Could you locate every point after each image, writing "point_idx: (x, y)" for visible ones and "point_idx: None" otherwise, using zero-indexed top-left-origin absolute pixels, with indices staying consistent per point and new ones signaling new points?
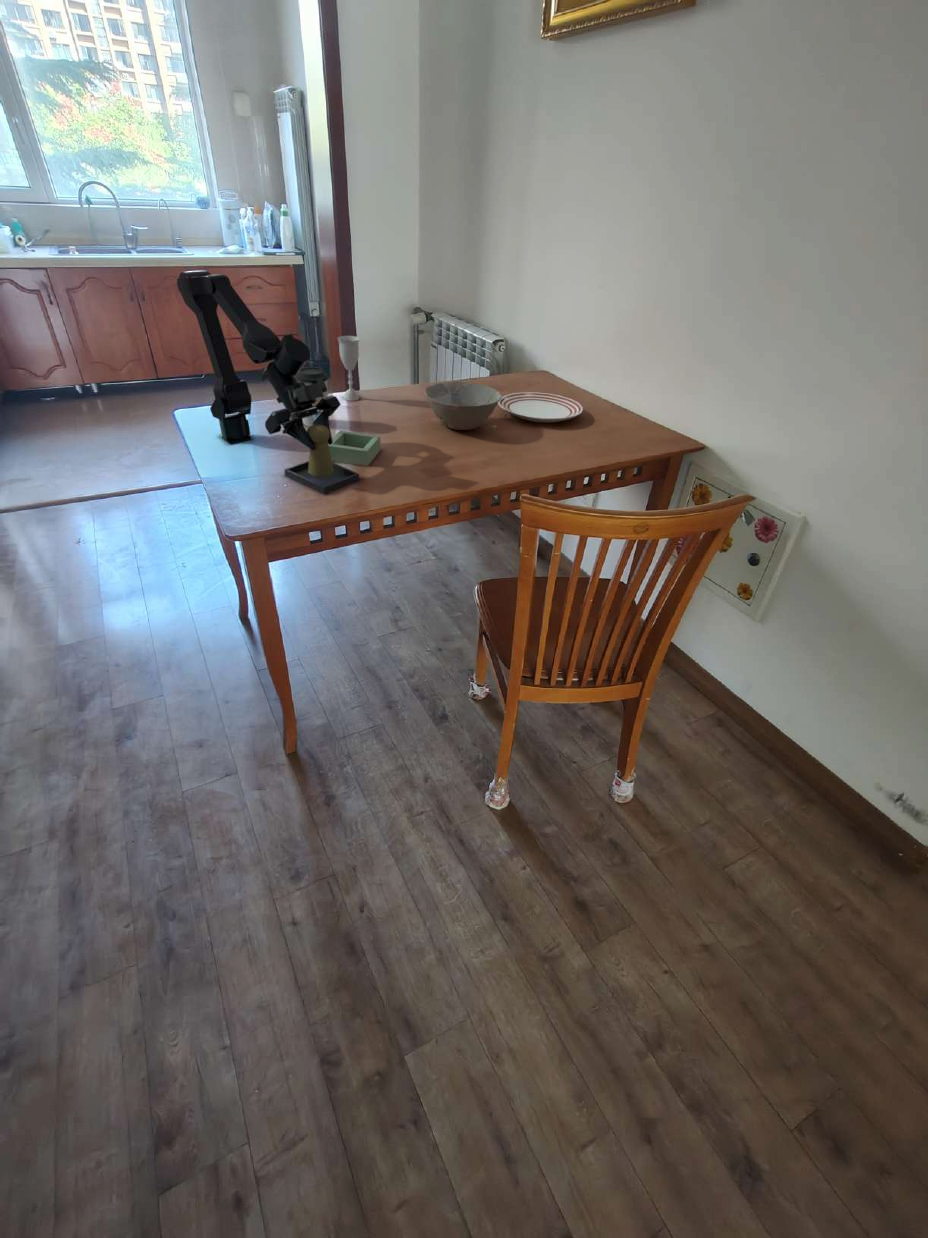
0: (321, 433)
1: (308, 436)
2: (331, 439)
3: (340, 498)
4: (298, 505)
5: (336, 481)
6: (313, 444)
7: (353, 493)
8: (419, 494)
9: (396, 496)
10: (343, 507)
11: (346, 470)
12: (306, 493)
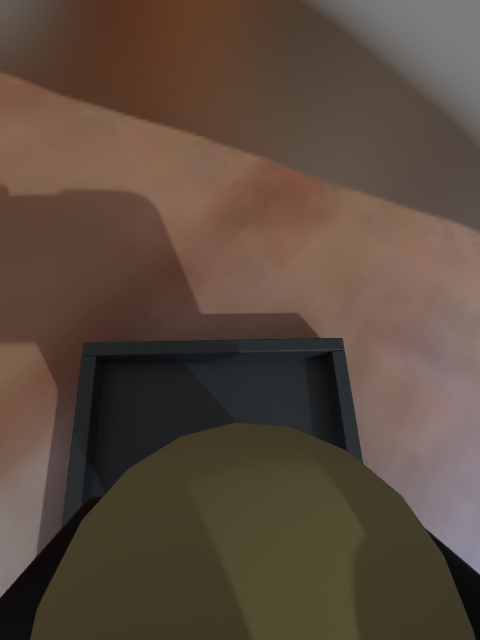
0: (318, 443)
1: (476, 612)
2: (80, 519)
3: (296, 278)
4: (477, 347)
5: (208, 403)
6: None
7: (222, 274)
8: (39, 111)
9: (114, 152)
10: (333, 220)
11: (89, 438)
12: (394, 418)
